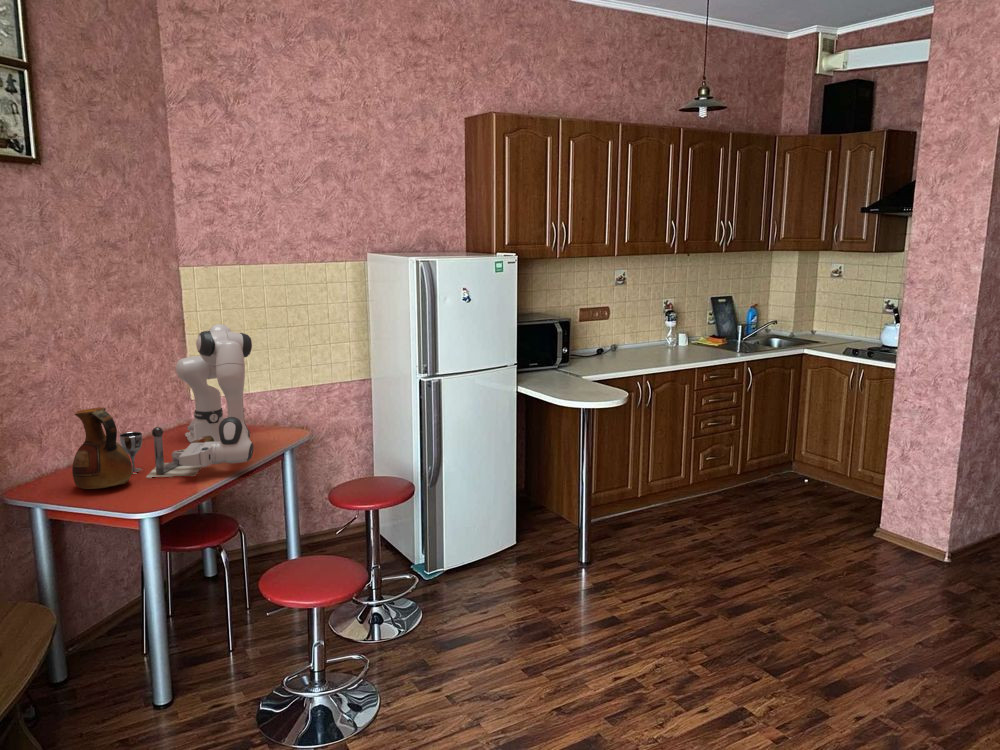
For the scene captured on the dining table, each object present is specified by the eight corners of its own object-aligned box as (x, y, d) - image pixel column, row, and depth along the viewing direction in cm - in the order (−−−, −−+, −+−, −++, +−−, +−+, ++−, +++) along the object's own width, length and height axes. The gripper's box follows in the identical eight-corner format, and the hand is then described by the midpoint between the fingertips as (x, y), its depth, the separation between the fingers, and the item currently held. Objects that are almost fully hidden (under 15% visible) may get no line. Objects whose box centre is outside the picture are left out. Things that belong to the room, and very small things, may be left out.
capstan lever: (178, 460, 316) (175, 416, 312) (191, 461, 315) (188, 417, 311) (150, 474, 297) (146, 428, 294) (164, 475, 296) (161, 428, 293)
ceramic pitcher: (106, 475, 299) (99, 400, 293) (145, 482, 291) (139, 405, 286) (61, 490, 281) (53, 411, 275) (102, 498, 273) (95, 416, 268)
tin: (195, 462, 317) (194, 442, 315) (188, 462, 317) (187, 442, 316) (215, 452, 331) (214, 433, 330) (209, 452, 332) (208, 433, 330)
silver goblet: (148, 470, 306) (146, 433, 303) (129, 475, 299) (126, 438, 296) (137, 466, 310) (134, 430, 307) (118, 471, 304) (115, 434, 301)
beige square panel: (159, 464, 313) (158, 462, 313) (205, 462, 316) (205, 461, 316) (146, 478, 296) (145, 476, 296) (195, 476, 298) (194, 474, 298)
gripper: (215, 438, 309) (179, 439, 307) (203, 452, 290) (165, 453, 288) (215, 453, 311) (180, 454, 309) (204, 468, 291) (166, 469, 289)
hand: (172, 454), depth 298 cm, fingers closed
